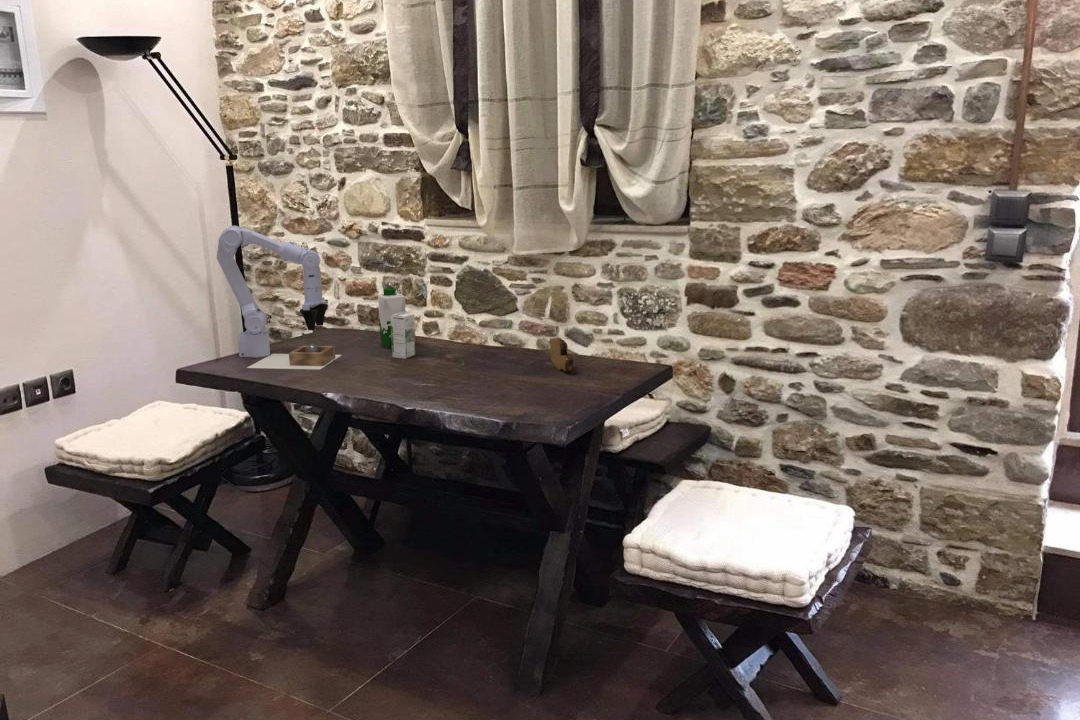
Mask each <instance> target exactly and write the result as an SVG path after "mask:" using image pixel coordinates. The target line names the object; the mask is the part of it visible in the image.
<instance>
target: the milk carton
mask: <svg viewBox="0 0 1080 720" xmlns="http://www.w3.org/2000/svg"><path fill="white" fill-rule="evenodd" d="M377 300H378V301H377V302H378V317H379V318H378V320H379V331H380V333H379V335H380V342H381V346H382V345H383V347H384V346H385V347H384V348H386V349H387V348H388V349H389V348H390V349H392V343H391V315H394V314H397V313H403V312H404V313H407V312H406V310H407V309H406V295H404V294H401V293H397V292H396V289H395V288H392V287H387V288H383V294H378V295H377ZM388 349H387V350H388ZM390 349H389V350H390Z"/></svg>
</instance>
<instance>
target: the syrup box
mask: <svg viewBox="0 0 1080 720" xmlns="http://www.w3.org/2000/svg"><path fill="white" fill-rule="evenodd" d="M415 327H416V326H415V314H414V313H411V312H406V313H404V312H403V313H397V314H394V315H391V343H392V348H391V358H395V359H408V358H411V357H415V356H416V333H415V332H416V330H415Z"/></svg>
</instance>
